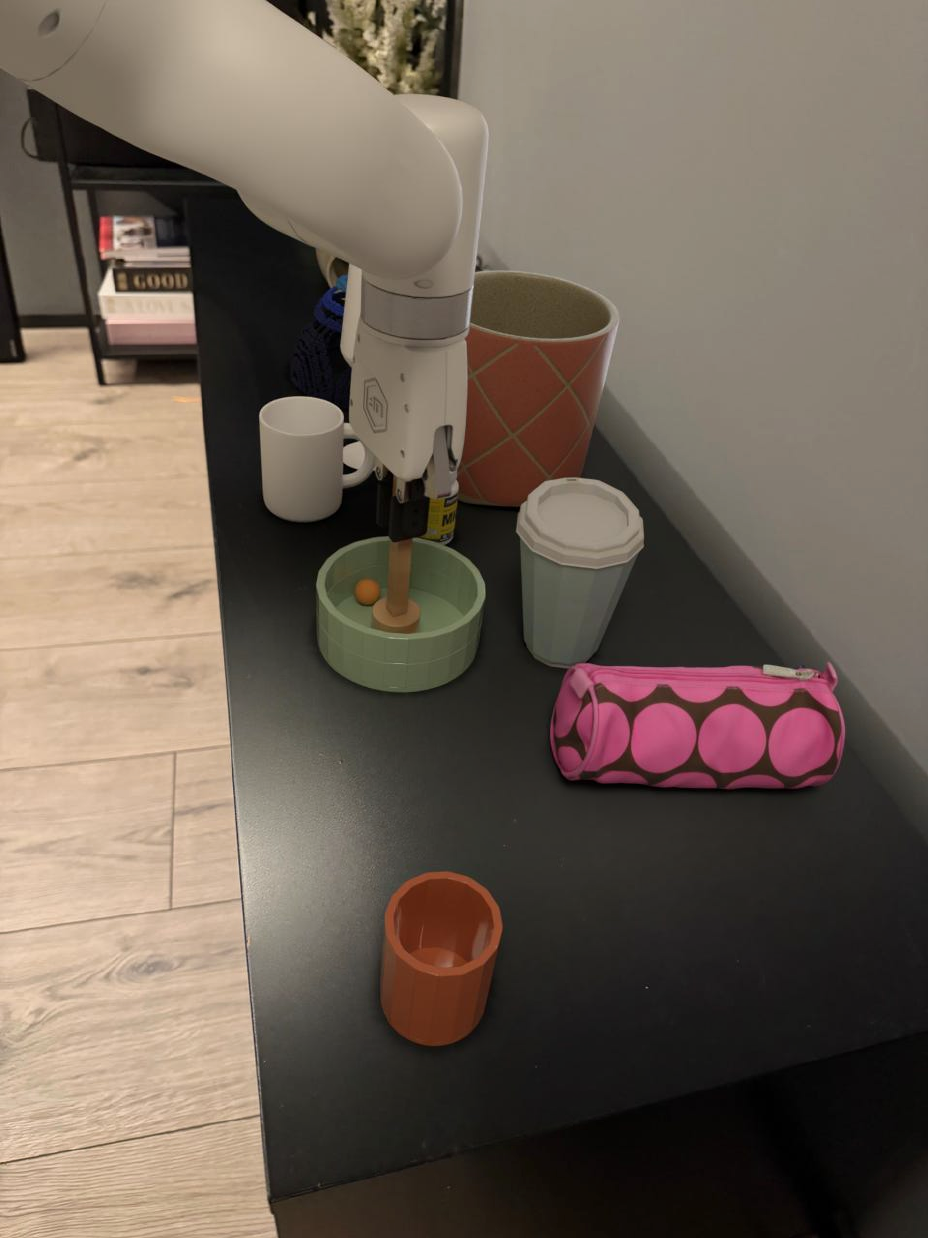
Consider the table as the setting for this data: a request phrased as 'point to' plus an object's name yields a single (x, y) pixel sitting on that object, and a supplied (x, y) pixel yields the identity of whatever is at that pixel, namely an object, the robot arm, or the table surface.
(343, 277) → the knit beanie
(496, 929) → the crock
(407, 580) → the wooden post with base
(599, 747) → the pencil case
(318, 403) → the mug
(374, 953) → the table surface
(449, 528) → the supplement bottle
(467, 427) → the planter
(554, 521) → the disposable coffee cup
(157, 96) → the robot arm
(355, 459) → the champagne flute
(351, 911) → the table surface
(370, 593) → the ball
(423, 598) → the bowl
